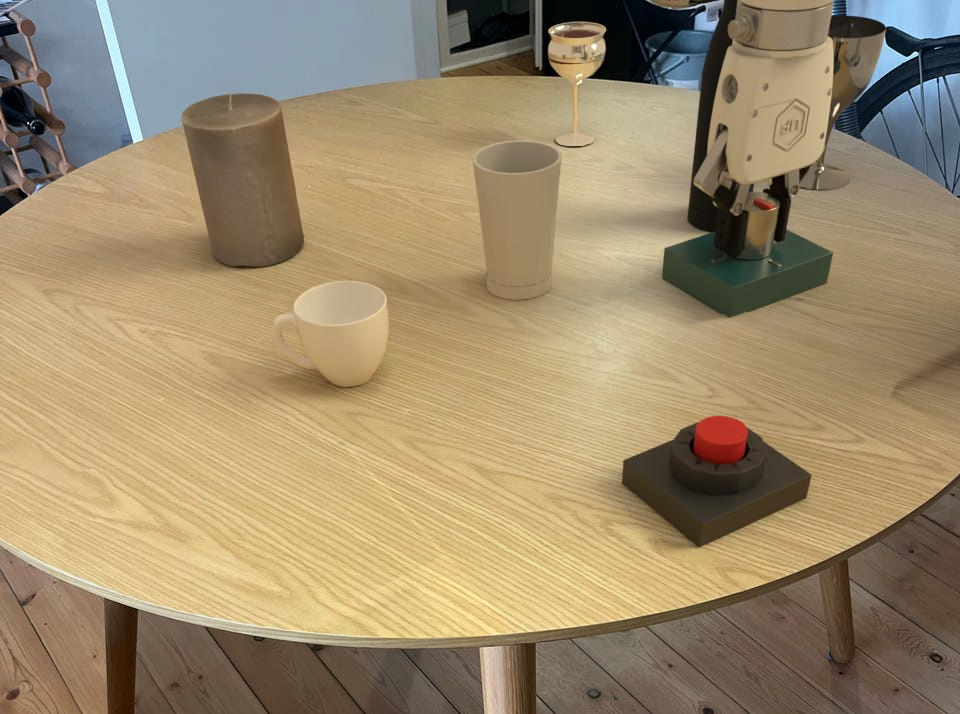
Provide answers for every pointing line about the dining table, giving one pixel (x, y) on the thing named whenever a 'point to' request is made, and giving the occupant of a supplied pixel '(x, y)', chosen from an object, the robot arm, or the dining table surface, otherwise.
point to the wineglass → (576, 61)
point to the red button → (720, 440)
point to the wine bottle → (709, 119)
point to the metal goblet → (846, 84)
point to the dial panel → (745, 272)
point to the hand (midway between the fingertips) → (749, 242)
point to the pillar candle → (244, 178)
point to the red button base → (714, 486)
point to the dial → (759, 225)
